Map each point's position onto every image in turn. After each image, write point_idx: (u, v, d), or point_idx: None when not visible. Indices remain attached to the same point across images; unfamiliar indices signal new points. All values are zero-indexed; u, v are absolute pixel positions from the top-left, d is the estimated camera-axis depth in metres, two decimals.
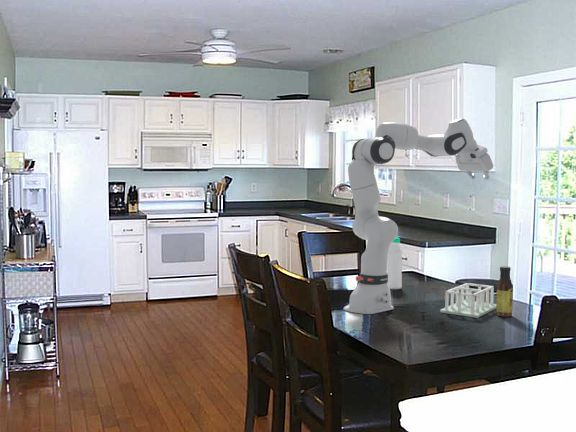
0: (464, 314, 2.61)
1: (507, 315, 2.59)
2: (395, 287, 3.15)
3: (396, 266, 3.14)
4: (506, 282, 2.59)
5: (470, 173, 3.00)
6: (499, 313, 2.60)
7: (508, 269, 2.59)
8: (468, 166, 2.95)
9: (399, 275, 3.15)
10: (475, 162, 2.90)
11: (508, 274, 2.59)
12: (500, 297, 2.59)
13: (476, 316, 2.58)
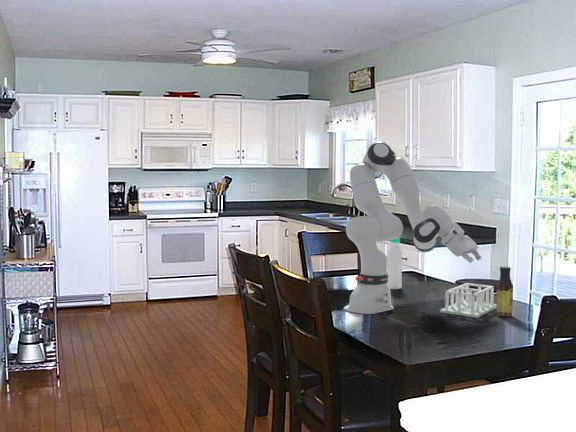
0: (464, 314, 2.61)
1: (507, 315, 2.59)
2: (395, 287, 3.15)
3: (396, 266, 3.14)
4: (506, 282, 2.59)
5: (476, 254, 2.73)
6: (499, 313, 2.60)
7: (508, 269, 2.59)
8: None
9: (399, 275, 3.15)
10: None
11: (508, 274, 2.59)
12: (500, 297, 2.59)
13: (476, 316, 2.58)
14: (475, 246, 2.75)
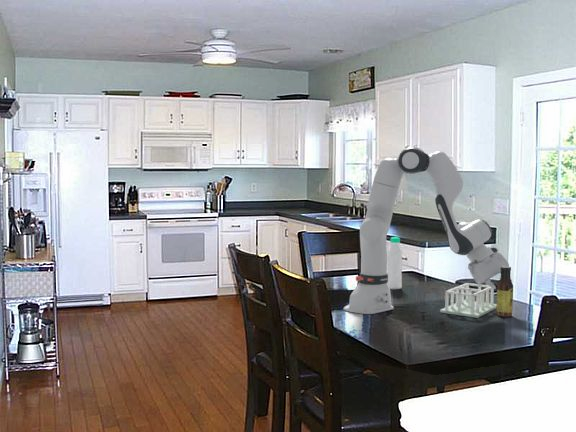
0: (464, 314, 2.61)
1: (507, 315, 2.59)
2: (395, 287, 3.15)
3: (396, 266, 3.14)
4: (506, 282, 2.58)
5: None
6: (499, 313, 2.60)
7: (509, 269, 2.59)
8: (490, 269, 2.64)
9: (399, 275, 3.15)
10: (494, 262, 2.68)
11: (508, 274, 2.59)
12: (500, 297, 2.59)
13: (476, 316, 2.58)
14: None
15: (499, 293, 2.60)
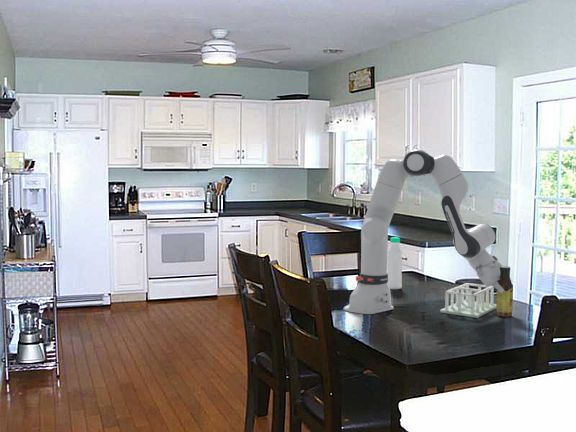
0: (464, 314, 2.61)
1: (507, 315, 2.59)
2: (395, 287, 3.15)
3: (396, 266, 3.14)
4: (506, 282, 2.58)
5: None
6: (499, 313, 2.60)
7: (508, 269, 2.59)
8: (495, 274, 2.61)
9: (399, 275, 3.15)
10: (496, 269, 2.66)
11: (508, 274, 2.59)
12: (500, 297, 2.59)
13: (476, 316, 2.58)
14: None
15: (499, 293, 2.60)
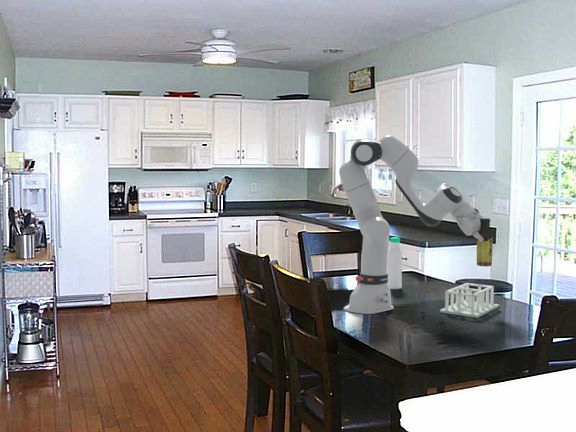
0: (464, 314, 2.61)
1: (487, 265, 2.67)
2: (395, 287, 3.15)
3: (396, 266, 3.14)
4: (485, 232, 2.67)
5: None
6: (479, 263, 2.68)
7: (488, 220, 2.67)
8: (476, 224, 2.69)
9: (399, 275, 3.15)
10: (477, 220, 2.74)
11: (488, 225, 2.67)
12: (480, 247, 2.67)
13: (476, 316, 2.58)
14: None
15: (479, 243, 2.68)
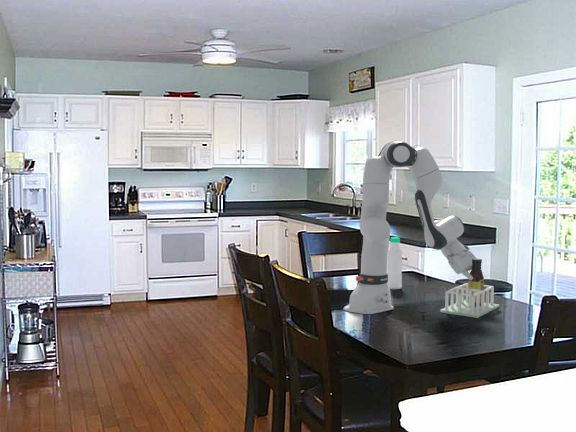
0: (464, 314, 2.61)
1: None
2: (395, 287, 3.15)
3: (396, 266, 3.14)
4: (477, 273, 2.73)
5: None
6: None
7: (479, 261, 2.73)
8: (466, 262, 2.75)
9: (399, 275, 3.15)
10: (467, 258, 2.80)
11: (479, 266, 2.73)
12: None
13: (476, 316, 2.58)
14: None
15: (470, 284, 2.74)
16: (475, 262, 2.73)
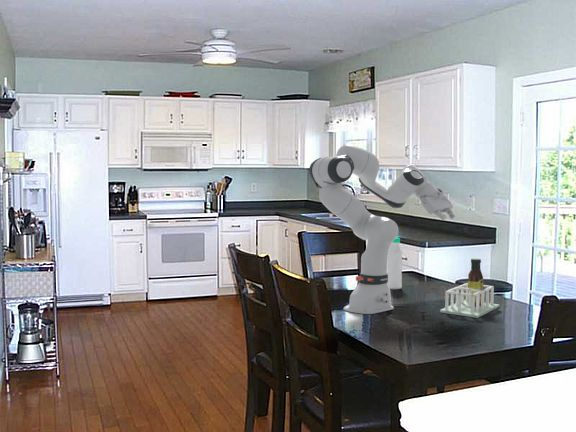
0: (464, 314, 2.61)
1: None
2: (395, 287, 3.15)
3: (396, 266, 3.14)
4: (476, 273, 2.73)
5: None
6: None
7: (478, 261, 2.73)
8: (439, 203, 2.81)
9: (399, 275, 3.15)
10: (441, 200, 2.86)
11: (478, 266, 2.74)
12: None
13: (476, 316, 2.58)
14: None
15: (470, 284, 2.74)
16: (474, 262, 2.73)
